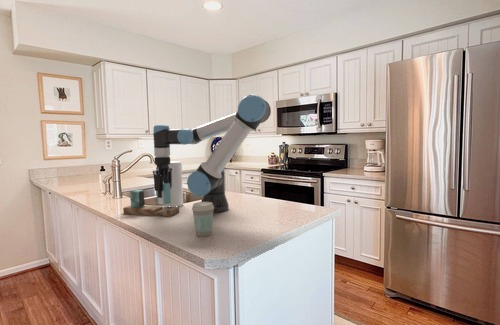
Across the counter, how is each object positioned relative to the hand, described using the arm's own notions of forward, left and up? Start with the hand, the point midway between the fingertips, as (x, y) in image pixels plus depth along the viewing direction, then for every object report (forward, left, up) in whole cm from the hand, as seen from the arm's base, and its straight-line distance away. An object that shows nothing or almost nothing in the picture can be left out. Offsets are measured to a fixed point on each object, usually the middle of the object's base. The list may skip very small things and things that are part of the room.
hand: (164, 202), depth 139 cm
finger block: (0, 0, 0) cm, 0 cm away
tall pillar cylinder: (+6, -18, -6) cm, 20 cm away
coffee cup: (-33, +24, -6) cm, 41 cm away
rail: (+8, 0, -6) cm, 10 cm away
